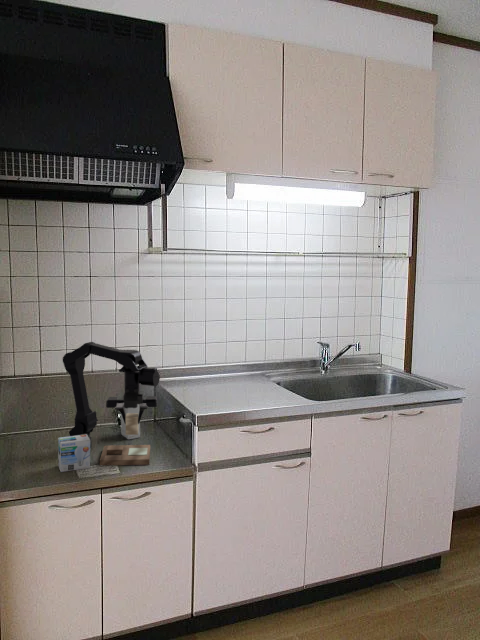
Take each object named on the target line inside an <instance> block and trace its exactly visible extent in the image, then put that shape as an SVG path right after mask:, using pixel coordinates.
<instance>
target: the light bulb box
mask: <svg viewBox="0 0 480 640" xmlns="http://www.w3.org/2000/svg"><path fill="white" fill-rule="evenodd" d="M57 439H58V440H57V445H58V446H57V452H58V453H57V457H58V458H57V462H58V463H57V465H58V469H59V470H60V471H59V472H60V473H63V472H64V473H65V472H69V471H71V472H72V471H77V470H78V471H79V470H85V469H90V468H91V449H90V439H89V437H88V435H87V434H85V435H77V436H70V435H68V436H63V437H62V436H60V437H58V438H57Z"/></svg>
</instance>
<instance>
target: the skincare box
mask: <svg viewBox="0 0 480 640" xmlns="http://www.w3.org/2000/svg"><path fill="white" fill-rule="evenodd" d="M139 409H140V404H138V406H137V408H125V410H126V414H127V413H138V417H139ZM120 434H121V435H122V436H123V437H124V438H125V439H126V440H131V439H133V440H134V439H139V438H141V422H140V423H139V424H138V435H126V424H125V422H124V420H123V417H122V414H121V413H120Z"/></svg>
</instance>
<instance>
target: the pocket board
mask: <svg viewBox="0 0 480 640" xmlns="http://www.w3.org/2000/svg"><path fill="white" fill-rule="evenodd" d="M150 457H151V444H136V445H135V444H129V445H127V444H123V445H119V444H118V445H117V444H116V445H115V444H113V445H111V444H110V445H103V449H102V452H101V455H100V458H99V466H100V465H102V466H131V465H132V466H133V465H134V466H135V465H136V466H139V465H140V466H141V465H150V459H151V458H150Z"/></svg>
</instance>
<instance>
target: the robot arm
mask: <svg viewBox="0 0 480 640" xmlns="http://www.w3.org/2000/svg"><path fill="white" fill-rule="evenodd" d="M90 355H94V356H98V357H102V358H104V359H109V360H111V361H112V360H113V361H115V362H117V363H118V364H119V365H120V366H121V368H120V369H118V372H119V373H124V375H123V377H124V379H123V380H124V381H123V383H124V384H123V385H124V386H123V387H124V388H123V389H124V393H123V398H122V399H119V396H108V398H106V401H105V402H106V404H105V406H106V407H105V408H107V409H109V408H111V409H112V408H115V410H116V411H117V410H118V411H119V413H120V415H121V414H122V417H123V420H124V422H125V424H126V410H125V408H137V406H138V404H139V417H138V424H139V423H140V424H141V419H142V416H143V415H144V414H143V413H144V411H145V410H147V409H148V408H156V407H158V397H157V396H156V395H153V396H146V398H144V394H143V393H140V392H141V391H140V390H141V388H140V387H141V386H150V387H157V386H159V384H160V380H161V379H160V378H161V376H160V373H159V371H158V368H157V367H149V366H148V365H147V363H146V362H145V360H144V358H143V355H142V354H141V351H139V350H137V349H118V348H115V347H112V346H109V345H108V346H107V345H103V344H100V343H96V342H94V341H89V342H85V343H83V344H82V345H81V346H79V347H77V348H76V349H74V350H73V351H70V352H65V354H64V355H63V356H62V363H63V366H64V369H65V371H66V372H67V373H68V375H69V376H70V381H71V385H72V386H71V387H72V392H73V399H74V403H75V408H76V412H75V418H74V426H73V428H71V429H70V430H69V431H68V435H69V436H77V435H85V434H87V435H88V437H89V439H90V450H91V449H92V447H93V446H92V438H93V437H92V436H91V433H92V432H94V429H95V428H96V426H97V424H98V423H97V422H98V418H97V411H96V410H92V409H91V407H90V403H89V398H88V397H89V396H88V393H87V387H86V381H85V376H84V370H85V366H86V359H87V358H88V357H90ZM140 385H141V386H140Z"/></svg>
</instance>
